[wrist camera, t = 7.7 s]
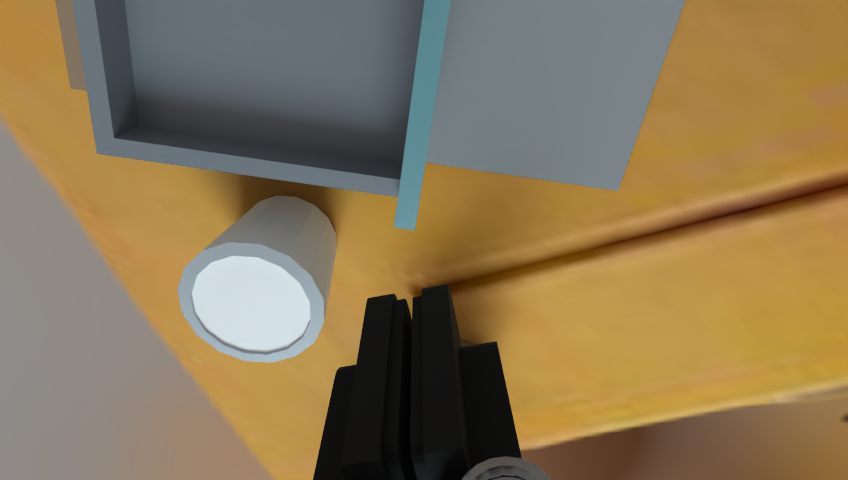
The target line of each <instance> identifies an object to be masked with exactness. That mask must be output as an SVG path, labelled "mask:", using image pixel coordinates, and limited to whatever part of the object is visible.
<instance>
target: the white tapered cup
mask: <svg viewBox="0 0 848 480" xmlns="http://www.w3.org/2000/svg"><path fill="white" fill-rule="evenodd" d="M335 255H336V233H335V231H334V229H333V227H332V224H331V222H330V220H329V218H328V217H327V216H326V215H325V214H324V213H323V212H322V211H321V210H320V209H318V208H317V207H316V206H315V205H314V204H312V203H309V202H307V201H305V200H303V199H300V198H298V197H292V196H274V197H271V198H268V199H265V200H262V201H259V202H258V203H257V204H256V205H255V206H253V207H252V208H251V209H250V210H249V211H248V212H247V213H245V214H244V215H243V216H242V217H241V218H240V219H239V220H237V221H236V222H235V223H234V224H233V225H232V226H230V227H229V228H228V229H227V230H226V231H225V232H224V233H222V234H221V235H220V236H219V237H218V238H217V239H215V240H214V241H213V242H212V243H211V244H210V245H209V246H207V247H206V248H205V249H204V250H203V251H202V252H201V253H200V254H198V255H197V256H196V257H195V258H194V259H193V260H192V261H191V262H190V263H189V264H188V265H187V266H186V267H185V268H184V271H183V274H182V277H181V281H180V284H179V287H178V294H179V299H180V305H181V310H182V314H183V315H184V317H185V318H186V320H187V321H188V323H189V324H190V326H191V327H192V329H193V330H194V331H195V333H196V334H197V335H198V336H199V337H200V338H202V339H203V340H204V341H206V342H207V343H208V344H210V345H211V346H212V347H214V348H215V349H216V350H218V351H219V352H222V353H225V354H227V355H230V356H233V357H236V358H238V359H241V360H244V361H255V362H270V363H272V362H276V361H279V360H283V359H287V358H291V357H295V356H297V355H298V354H299V353H301V352H302V351H303V350H305V349H306V348H307V347H309V346H310V345H311V344H313V343H314V342H315V340H316V338H317V336H318V334H319V332H320V330H321V328H322V326H323V324H324V320H325V314H326V308H327V302H328V297H329V291H330V285H331V279H332V273H333V267H334V261H335Z"/></svg>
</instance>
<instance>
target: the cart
mask: <svg viewBox="0 0 848 480" xmlns="http://www.w3.org/2000/svg"><path fill="white" fill-rule="evenodd" d="M450 2H451V0H73V7H74V13H75V19H76V25H77V32H78V38H79V44H80V50H81V57H82V63H83V69H84V75H85V82H86V88H87V94H88V100H89V107H90V113H91V119H92V125H93V132H94V138H95V144H96V150H97V154H102V155H109V156H116V157H123V158H130V159H137V160H144V161H151V162H158V163H165V164H172V165H179V166H186V167H193V168H200V169H207V170H214V171H220V172H227V173H234V174H241V175H248V176H255V177H262V178H269V179H276V180H283V181H290V182H297V183H304V184H311V185H318V186H325V187H332V188H339V189H346V190H353V191H360V192H367V193H373V194H380V195H387V196H394V197H398V201H397V209H396V216H395V224H394V227H395V228H402V229H410V230H415V226H416V220H417V213H418V207H419V200H420V194H421V188H422V181H423V175H424V168H425V162H426V156H427V149H428V143H429V136H430V130H431V124H432V117H433V111H434V104H435V98H436V92H437V85H438V79H439V72H440V66H441V60H442V53H443V47H444V41H445V34H446V28H447V21H448V15H449V9H450Z"/></svg>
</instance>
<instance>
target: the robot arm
mask: <svg viewBox="0 0 848 480" xmlns="http://www.w3.org/2000/svg"><path fill="white" fill-rule="evenodd" d="M313 480H551V479H550V478H549V476H548V475H547V474H546V473H545V472H544V471H543V470H541V469H540V468H539V467H538V466H537V465H535V464H533V463H531V462H529V461H526V460H524V459H522V458H521V453H520V448H519V444H518V439H517V434H516V430H515V425H514V420H513V416H512V411H511V406H510V402H509V397H508V392H507V388H506V383H505V378H504V374H503V369H502V364H501V360H500V355H499V350H498V346H497V342H491V343H485V344H479V345H473V346H467V347H462V344H461V339H460V335H459V330H458V325H457V321H456V316H455V311H454V307H453V302H452V298H451V293H450V289H449V285H448V284H446V285H440V286H434V287H429V288H423V289H422V296H418V297H413V312H412V318H411V315H410V311H409V307H408V304H407V301H406V299H401V300H397V298H396V295H395V294H389V295H383V296H378V297H372V298H368V300H367V304H366V310H365V316H364V322H363V328H362V334H361V340H360V346H359V352H358V359H357V365H352V366H346V367H340V368H339V369H338V370H337V372H336V375H335V379H334V384H333V389H332V393H331V398H330V403H329V407H328V412H327V417H326V421H325V426H324V431H323V435H322V440H321V445H320V450H319V454H318V459H317V464H316V468H315V473H314V478H313Z"/></svg>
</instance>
